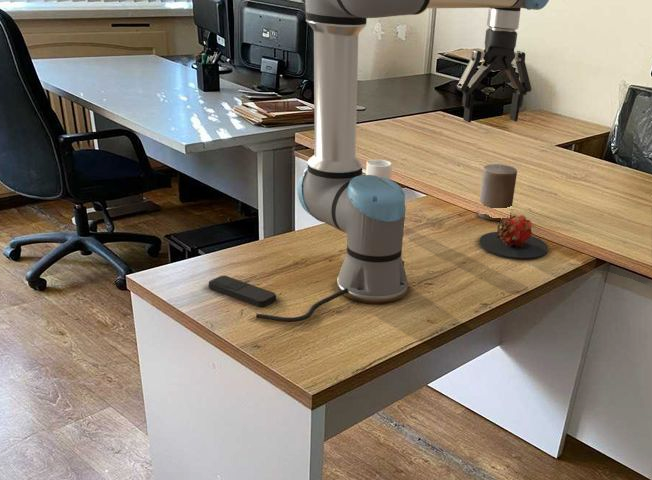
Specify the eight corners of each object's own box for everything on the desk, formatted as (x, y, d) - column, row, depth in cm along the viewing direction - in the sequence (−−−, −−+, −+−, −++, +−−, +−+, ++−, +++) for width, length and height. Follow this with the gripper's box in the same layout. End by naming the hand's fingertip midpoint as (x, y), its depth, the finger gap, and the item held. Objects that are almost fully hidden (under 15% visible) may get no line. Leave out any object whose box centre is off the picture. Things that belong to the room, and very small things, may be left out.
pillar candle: (517, 218, 201) (525, 166, 194) (494, 223, 195) (501, 170, 188) (493, 207, 207) (500, 157, 200) (470, 213, 201) (476, 161, 194)
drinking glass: (360, 213, 193) (362, 159, 185) (382, 212, 195) (385, 158, 188) (369, 222, 187) (372, 167, 180) (392, 220, 190) (396, 165, 183)
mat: (501, 263, 171) (501, 260, 171) (466, 236, 185) (466, 234, 184) (561, 256, 179) (561, 253, 178) (523, 231, 192) (524, 229, 192)
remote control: (278, 301, 144) (223, 279, 149) (278, 294, 143) (222, 272, 148) (262, 310, 140) (206, 287, 145) (262, 302, 139) (205, 279, 144)
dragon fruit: (494, 254, 178) (520, 250, 187) (520, 244, 172) (546, 240, 181) (485, 222, 178) (511, 220, 187) (511, 211, 172) (537, 209, 181)
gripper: (537, 29, 174) (524, 116, 185) (448, 24, 164) (440, 117, 174) (554, 33, 168) (539, 123, 179) (463, 29, 158) (454, 125, 169)
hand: (490, 120), depth 177 cm, fingers open, 13 cm apart
